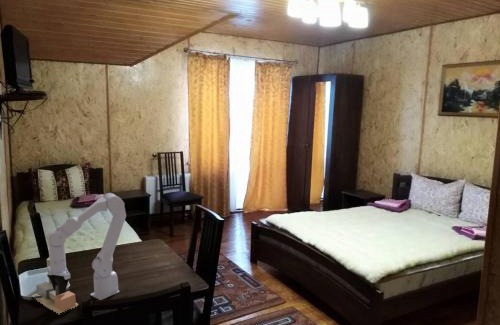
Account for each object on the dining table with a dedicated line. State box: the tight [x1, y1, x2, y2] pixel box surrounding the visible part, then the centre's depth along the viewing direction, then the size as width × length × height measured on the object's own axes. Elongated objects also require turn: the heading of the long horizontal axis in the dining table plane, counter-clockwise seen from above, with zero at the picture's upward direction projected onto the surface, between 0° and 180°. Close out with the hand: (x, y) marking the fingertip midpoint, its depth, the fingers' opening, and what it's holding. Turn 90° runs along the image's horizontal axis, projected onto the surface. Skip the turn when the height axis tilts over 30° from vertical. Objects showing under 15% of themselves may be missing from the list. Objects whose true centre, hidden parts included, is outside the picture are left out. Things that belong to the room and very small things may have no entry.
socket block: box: [54, 290, 77, 311], centre depth 152 cm, size 6×5×5 cm
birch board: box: [31, 293, 79, 315], centre depth 158 cm, size 8×23×1 cm, turn 54°
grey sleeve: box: [36, 281, 53, 300], centre depth 161 cm, size 4×8×4 cm, turn 54°
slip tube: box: [47, 284, 60, 300], centre depth 156 cm, size 2×15×7 cm, turn 54°
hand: (59, 291), depth 154 cm, fingers open, 4 cm apart
